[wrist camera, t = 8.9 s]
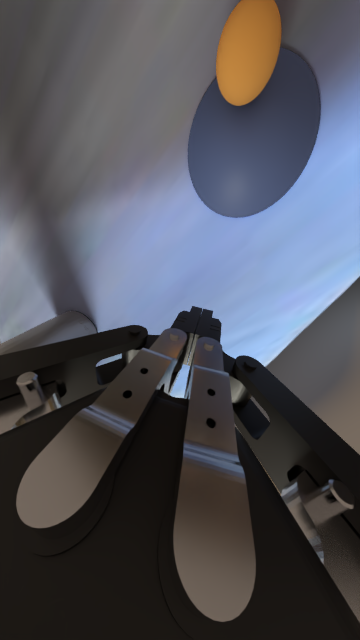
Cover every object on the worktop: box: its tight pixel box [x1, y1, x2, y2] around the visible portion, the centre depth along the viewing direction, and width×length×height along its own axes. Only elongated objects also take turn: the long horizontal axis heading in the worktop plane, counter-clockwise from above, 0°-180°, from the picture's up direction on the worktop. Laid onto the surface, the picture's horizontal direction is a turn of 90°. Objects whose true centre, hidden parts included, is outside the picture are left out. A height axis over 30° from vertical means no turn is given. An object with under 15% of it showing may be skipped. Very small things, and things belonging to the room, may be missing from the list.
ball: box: [216, 0, 281, 106], centre depth 14 cm, size 5×5×5 cm
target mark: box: [188, 47, 320, 218], centre depth 18 cm, size 13×13×1 cm
